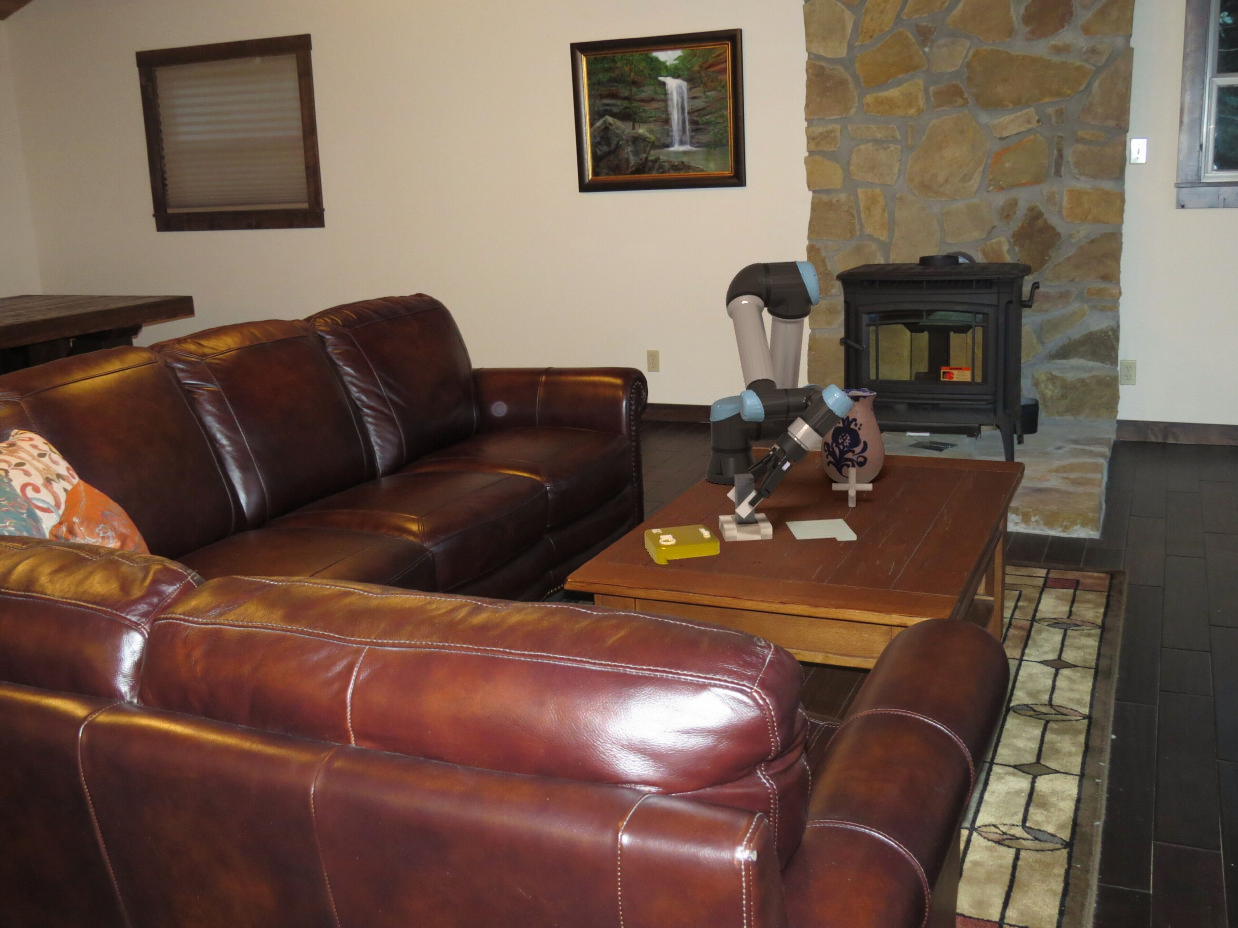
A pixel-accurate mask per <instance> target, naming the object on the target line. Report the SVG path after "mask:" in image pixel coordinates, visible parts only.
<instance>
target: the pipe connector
mask: <svg viewBox="0 0 1238 928" xmlns="http://www.w3.org/2000/svg"><path fill="white" fill-rule="evenodd" d="M831 484H832V487H831V488H832V489H831V490H832V491H848V495H847V496H848V497H847V499H848V507H850V508H855V507H856V501H857V500H856V499H857V495H856V493H857V491H866V492H868V491H869V492H871V491H873V483H864V484H856V468H849V484H847V483H839V482H837V483H834V482H833V483H831Z"/></svg>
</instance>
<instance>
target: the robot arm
mask: <svg viewBox="0 0 1238 928" xmlns="http://www.w3.org/2000/svg"><path fill="white" fill-rule="evenodd" d="M725 295H726V296H725V308H726V313H727V315H728V317H729V318H730V319H732V323H733V329H734V334H735V341H736V345H737V351H738V354H739V360H740V361H739V362H740V368H741V371H742V376H743V382H744V386H745V387H744V388H745V390H743V391H741V392H740V394H739V395H731V396H727V397H723V398H719V399H717V400H715V401H714V402H713V403H712V404H711V406H710V415H709V416H710V417H709V421H710V437H711V438H710V441H711V442H710V446H711V447H710V449H711V454H710V456H709V461H708V463H707V467H706V470H705V480H706V479H708V480H706V481H707V482H709V481H710V482H709V483H711V482H713V483H712V484H715V483H718V484H717V485H723V484H726V486H727V485H729V486H733V485H734V487H733V488H732V489H731V490H730V491H729V492H727V494H726V496H727V497H728V498H729V499H730V500H732V501H733V502H734V503H735V474H752V475H753V477H754V484H756V483H757V482H758V481H759V479H760V478H762V477H763V476H764V477H763V479H762V481H761V482H760V484H759V486H757V487H754V491H753V492H752V493H751V494H750V495H749V496H748V497H747V498H746V499H745V500H744V502H743V503H742V504H741V505H740V506H739V507H738V508H737V509H736V510H735V509H734V510H735V511H736V512H737V513H738V514H739V515H741V516H742V517H743V518H745V517H746V516H747V515H748V514H749V513H750V512H751V511H752V510H753V509H754V508H756V507H757V506H758V505H759V504H760V503H761V502H762V501H763V500H764V499H770V497H772V495H773V494H774V491H776V489H777V487H779V485H780V483H781V482H782V480H783V479H784V478H785V476H786V475H787V474H788V472H789V471H790V470H791V469H792V468H793V465H792V464H791V461H793V462H794V463H796V464H800V463H801V462H802V461H803V460H804V459H805V458H806V457H807V456H808V454H809V452H808V451H812V450H813V449H815V447H817V446H821V442H822V439H823V438H824V436H826V435H827V434H828V433H829V432H830V431H831V429H832V428H833V427H834V426H835V425H836V424H837V423H838V422H839V421H840V420H841V419H842V418H843V417H845V416H846V414H847V413H848V412H849V411H850V409H851V408H852V407H853V401H852V400H851V399H850V398H849V397H848V396H847V395H846V394H845V393H844V392H843V391H842V390H843V389H840V388H839V386H837V385H836V384H834V383H832V384H829V385H828V386H827V387H826V388H825V387H823V386H822V385H820V384H816V383H808V384H806V385H803V386H802V387H799V380H800V379H799V377H800V368H801V359H802V358H801V357H802V347H803V336H804V326H805V320H806V318H809V316H810V315H811V312H812V307H816V306H818V304H820V299H821V297H820V295H821V294H820V283H819V277H818V274H817V270H816V267H815V265H814V264H813V263H812V262H811V261H809V260H807V261H806V260H805V261H804V260H799V261H798V260H793V261H778V262H777V261H775V262H774V261H773V262H772V261H771V262H756V263H754V262H753V263H750V264H749V265H747V266H745V267H743V268H741V269H740V270H739V271H738V272H737V274H736V275H734V277H733V278H732V280H731V282H730V283H729V285H728V288H727V290H726V294H725ZM765 308H766V312H767V313H768V315H770V316H771V325H770V326H771V328H770V340H769V341H770V342H768V337H767V333H766V332H767V331H766V327H765V323H764V318H763V312H764V310H765ZM772 441H775V444H776V446H778V448H777V447H775V446H773V447H772V448H771V449H770V450H769V451H768V452H767V453H766V454H764V455H763V456H762V457H761V458H759V459H758V460H757V461H756V458H755V455H754V453H753V443H754V442H772ZM735 511H734V512H735Z"/></svg>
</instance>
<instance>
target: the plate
mask: <svg viewBox="0 0 1238 928" xmlns="http://www.w3.org/2000/svg"><path fill="white" fill-rule="evenodd" d="M785 524H786V525H787V527H788V529H789V530H790V531H791V533H792V534H793V536H794V537H795V539H796V540H808V539H809V540H811V539H826V538H828V539H829V538H835V539H836V540H837V542H842V541H843V542H844V541H846V542H847V541H857V538H858V537H857V534H856V533H855V532H854V530H852V529H851V527H850V526H849V525H848V524H847V522H846V521H844V519H843V518H836V519H818V520H817V519H815V520H814V519H813V520H799V521H798V520H797V521H785Z"/></svg>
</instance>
